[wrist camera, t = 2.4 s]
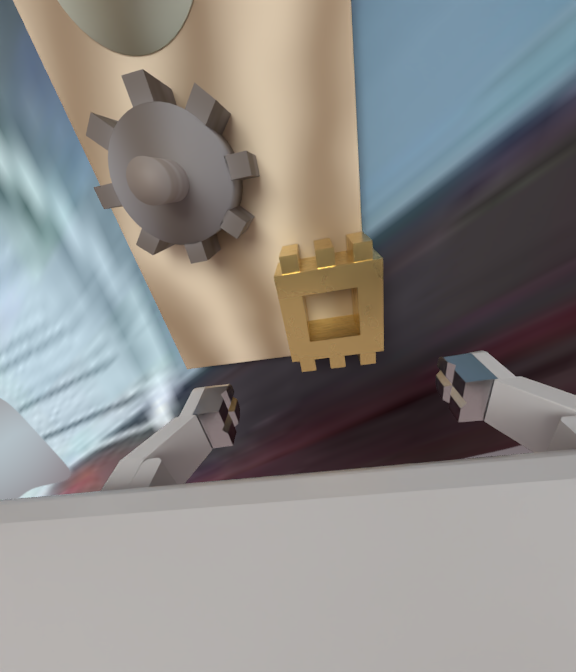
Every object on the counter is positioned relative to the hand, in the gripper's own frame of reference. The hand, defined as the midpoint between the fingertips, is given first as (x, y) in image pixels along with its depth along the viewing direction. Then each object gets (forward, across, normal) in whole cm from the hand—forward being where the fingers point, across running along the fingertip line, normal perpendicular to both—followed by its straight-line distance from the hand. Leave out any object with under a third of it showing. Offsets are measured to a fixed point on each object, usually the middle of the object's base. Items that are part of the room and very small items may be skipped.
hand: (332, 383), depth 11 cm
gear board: (+11, +4, -9) cm, 15 cm away
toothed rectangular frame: (+9, -1, 0) cm, 9 cm away
